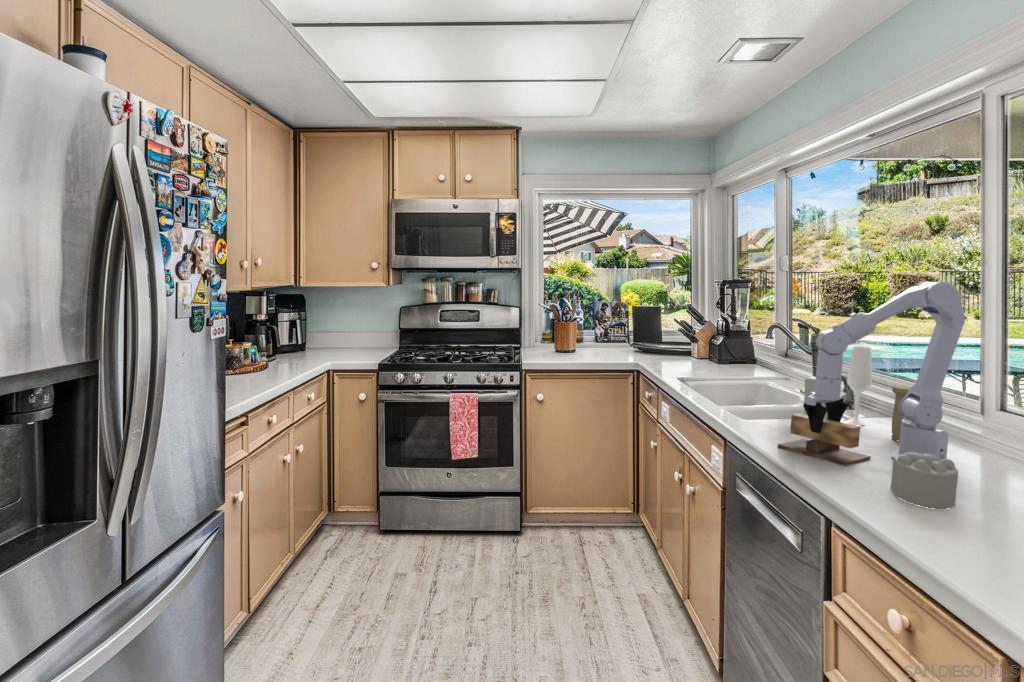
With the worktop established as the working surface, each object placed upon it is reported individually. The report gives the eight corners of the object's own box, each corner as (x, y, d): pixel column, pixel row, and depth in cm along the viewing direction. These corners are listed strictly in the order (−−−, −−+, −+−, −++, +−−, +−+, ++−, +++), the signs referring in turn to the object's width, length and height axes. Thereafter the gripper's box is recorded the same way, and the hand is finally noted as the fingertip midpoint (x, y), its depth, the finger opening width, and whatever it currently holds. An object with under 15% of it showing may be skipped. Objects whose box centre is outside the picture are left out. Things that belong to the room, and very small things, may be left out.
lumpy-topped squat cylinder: (942, 491, 130) (946, 452, 129) (964, 514, 118) (969, 470, 117) (886, 485, 133) (889, 446, 132) (902, 506, 121) (906, 463, 120)
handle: (905, 438, 174) (910, 386, 172) (911, 444, 168) (916, 390, 166) (886, 436, 175) (890, 384, 174) (890, 442, 169) (895, 388, 168)
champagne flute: (863, 427, 185) (870, 348, 183) (839, 423, 190) (846, 346, 188) (871, 424, 190) (878, 347, 187) (848, 420, 195) (854, 345, 192)
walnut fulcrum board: (870, 459, 152) (871, 445, 152) (845, 466, 146) (846, 451, 146) (802, 441, 167) (803, 429, 167) (777, 447, 161) (778, 434, 161)
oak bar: (858, 446, 151) (860, 426, 150) (850, 448, 149) (852, 428, 148) (798, 431, 164) (799, 413, 163) (790, 433, 162) (791, 414, 162)
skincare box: (837, 427, 185) (841, 378, 183) (830, 430, 180) (834, 380, 179) (808, 422, 191) (812, 375, 189) (801, 425, 186) (804, 377, 185)
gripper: (829, 373, 162) (825, 423, 163) (796, 377, 154) (792, 430, 156) (856, 377, 156) (851, 429, 157) (823, 381, 148) (819, 436, 150)
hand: (824, 430), depth 156 cm, fingers open, 7 cm apart
